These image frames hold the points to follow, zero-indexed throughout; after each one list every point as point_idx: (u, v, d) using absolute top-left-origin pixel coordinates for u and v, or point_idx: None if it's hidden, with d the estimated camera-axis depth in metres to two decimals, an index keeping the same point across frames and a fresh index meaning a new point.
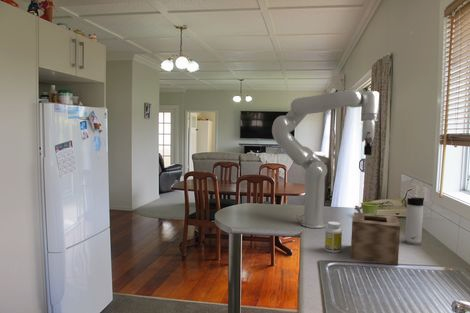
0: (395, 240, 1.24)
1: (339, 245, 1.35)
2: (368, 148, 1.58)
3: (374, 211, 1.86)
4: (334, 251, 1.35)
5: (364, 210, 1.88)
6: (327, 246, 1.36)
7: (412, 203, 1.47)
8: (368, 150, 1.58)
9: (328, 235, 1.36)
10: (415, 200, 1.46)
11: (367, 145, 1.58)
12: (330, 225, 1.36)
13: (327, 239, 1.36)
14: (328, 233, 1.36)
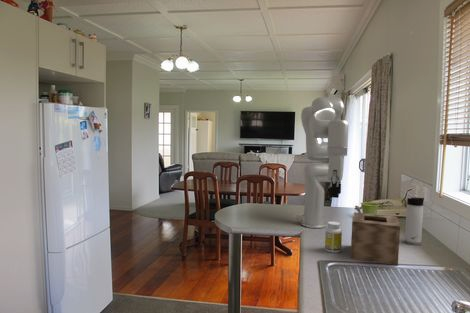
0: (395, 240, 1.24)
1: (339, 245, 1.35)
2: (334, 189, 1.31)
3: (374, 211, 1.86)
4: (334, 251, 1.35)
5: (364, 210, 1.88)
6: (327, 246, 1.36)
7: (412, 203, 1.47)
8: (334, 192, 1.31)
9: (328, 235, 1.36)
10: (415, 200, 1.46)
11: (333, 186, 1.30)
12: (330, 225, 1.36)
13: (327, 239, 1.36)
14: (328, 233, 1.36)
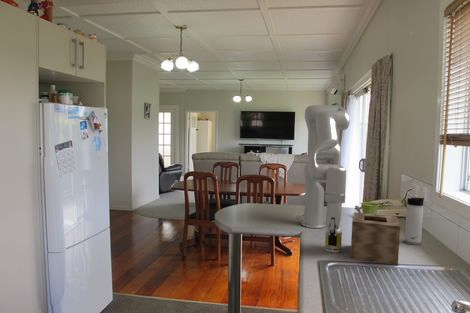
0: (395, 240, 1.24)
1: (339, 245, 1.35)
2: (333, 238, 1.33)
3: (374, 211, 1.86)
4: (334, 251, 1.35)
5: (364, 210, 1.88)
6: (327, 246, 1.36)
7: (412, 203, 1.47)
8: (333, 240, 1.33)
9: None
10: (415, 200, 1.46)
11: (331, 235, 1.33)
12: None
13: (327, 239, 1.36)
14: (328, 233, 1.36)
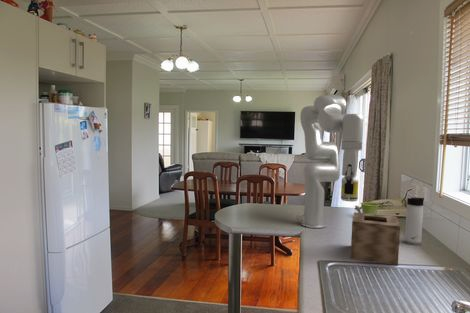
0: (395, 240, 1.24)
1: (356, 194, 1.32)
2: (349, 186, 1.31)
3: (374, 211, 1.86)
4: (351, 199, 1.32)
5: (364, 210, 1.88)
6: (343, 195, 1.34)
7: (412, 203, 1.47)
8: (349, 188, 1.31)
9: (344, 184, 1.33)
10: (415, 200, 1.46)
11: (348, 182, 1.30)
12: None
13: (343, 188, 1.34)
14: (344, 182, 1.33)
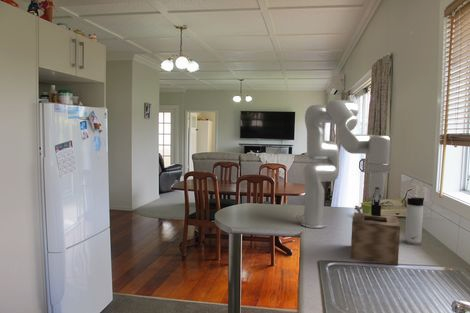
0: (395, 240, 1.24)
1: None
2: (377, 208, 1.27)
3: None
4: None
5: (364, 210, 1.88)
6: None
7: (412, 203, 1.47)
8: (377, 210, 1.27)
9: None
10: (415, 200, 1.46)
11: (375, 204, 1.27)
12: None
13: None
14: None
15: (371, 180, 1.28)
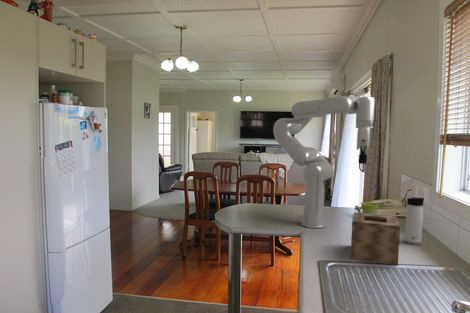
0: (395, 240, 1.24)
1: None
2: (363, 156, 1.52)
3: (374, 211, 1.86)
4: None
5: (364, 210, 1.88)
6: None
7: (412, 203, 1.47)
8: (363, 158, 1.52)
9: None
10: (415, 200, 1.46)
11: (362, 153, 1.52)
12: None
13: None
14: None
15: (358, 134, 1.53)
